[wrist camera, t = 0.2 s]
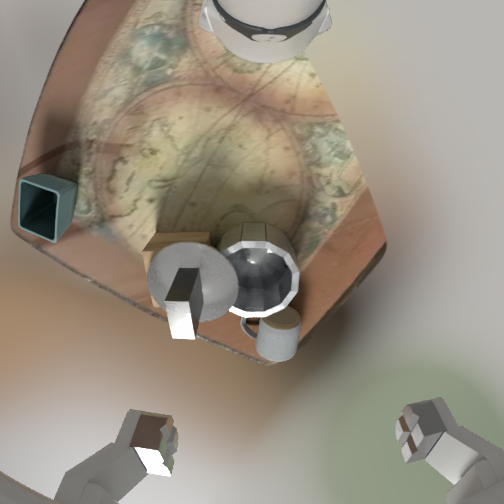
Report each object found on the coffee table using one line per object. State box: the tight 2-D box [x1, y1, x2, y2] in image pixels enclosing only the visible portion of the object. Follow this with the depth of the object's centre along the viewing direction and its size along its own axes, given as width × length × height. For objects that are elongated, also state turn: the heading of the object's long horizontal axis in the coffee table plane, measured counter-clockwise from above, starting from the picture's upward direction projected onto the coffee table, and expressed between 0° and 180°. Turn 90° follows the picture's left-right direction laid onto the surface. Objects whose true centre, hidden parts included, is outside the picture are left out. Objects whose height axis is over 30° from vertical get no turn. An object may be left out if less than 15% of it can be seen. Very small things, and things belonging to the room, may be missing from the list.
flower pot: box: [18, 174, 77, 243], centre depth 41 cm, size 9×9×9 cm
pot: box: [216, 222, 299, 317], centre depth 47 cm, size 13×13×7 cm
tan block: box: [142, 232, 211, 307], centre depth 47 cm, size 10×9×7 cm
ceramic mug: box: [241, 306, 301, 362], centre depth 53 cm, size 11×8×8 cm
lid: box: [147, 241, 239, 339], centre depth 40 cm, size 14×14×9 cm
